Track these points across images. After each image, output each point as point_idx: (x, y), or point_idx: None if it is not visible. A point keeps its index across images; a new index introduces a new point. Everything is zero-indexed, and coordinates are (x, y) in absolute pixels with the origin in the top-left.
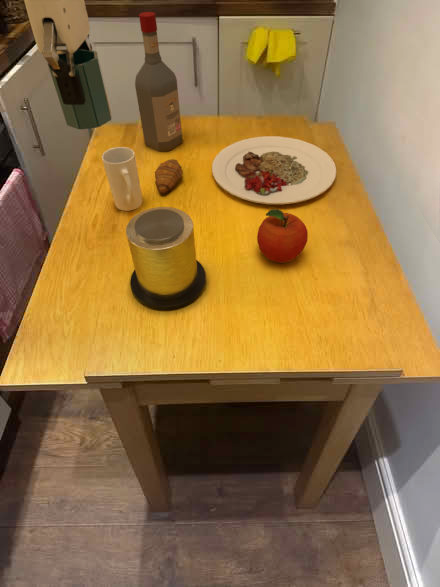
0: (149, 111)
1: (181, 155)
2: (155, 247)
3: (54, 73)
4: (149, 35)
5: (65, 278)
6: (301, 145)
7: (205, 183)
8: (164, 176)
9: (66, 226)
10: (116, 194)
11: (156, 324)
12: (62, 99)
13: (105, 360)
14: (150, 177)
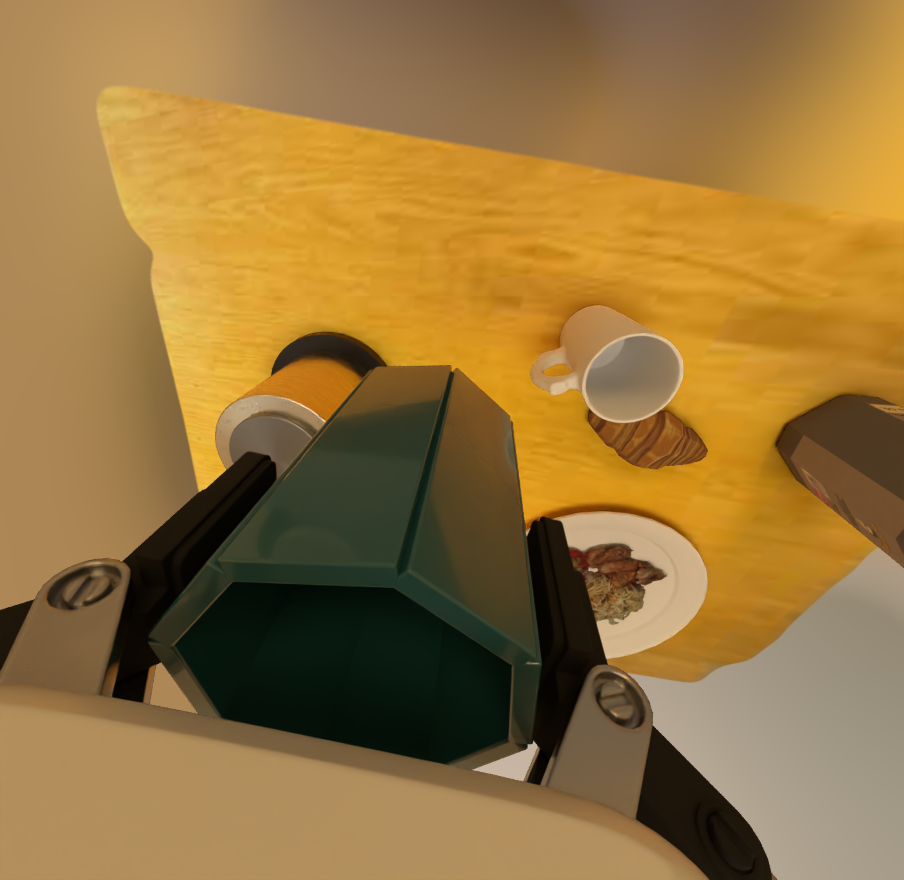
0: (894, 470)
1: (737, 465)
2: (220, 443)
3: (54, 589)
4: None
5: (356, 187)
6: (638, 642)
7: (601, 489)
8: (622, 434)
9: (548, 169)
10: (576, 327)
11: (249, 367)
12: (238, 461)
13: (171, 284)
14: (678, 391)
